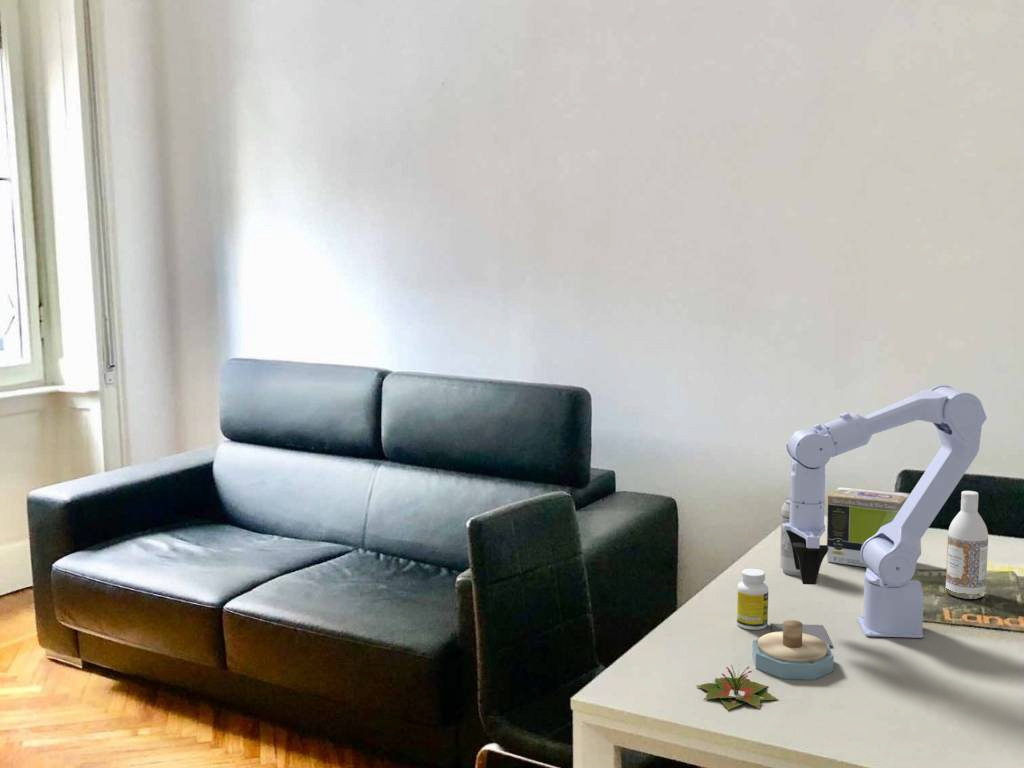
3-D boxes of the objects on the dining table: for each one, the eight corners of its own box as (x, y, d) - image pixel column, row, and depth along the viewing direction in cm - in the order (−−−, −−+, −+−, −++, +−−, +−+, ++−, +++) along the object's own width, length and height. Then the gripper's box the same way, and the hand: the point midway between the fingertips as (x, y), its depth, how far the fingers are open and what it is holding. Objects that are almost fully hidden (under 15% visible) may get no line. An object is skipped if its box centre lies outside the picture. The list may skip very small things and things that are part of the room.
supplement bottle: (768, 631, 176) (769, 577, 175) (736, 630, 177) (737, 576, 176) (767, 620, 182) (768, 567, 180) (736, 618, 183) (737, 566, 181)
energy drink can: (816, 572, 207) (818, 501, 204) (797, 578, 203) (798, 506, 201) (793, 565, 211) (795, 495, 209) (773, 570, 208) (775, 500, 206)
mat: (822, 627, 178) (822, 625, 178) (832, 647, 169) (832, 645, 169) (770, 625, 179) (770, 623, 179) (776, 645, 170) (777, 643, 170)
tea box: (910, 560, 213) (912, 492, 211) (899, 574, 205) (902, 503, 203) (837, 549, 221) (839, 484, 219) (825, 562, 213) (826, 494, 211)
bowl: (823, 649, 168) (824, 635, 168) (837, 680, 156) (837, 665, 156) (750, 647, 170) (750, 632, 169) (758, 677, 158) (758, 662, 158)
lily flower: (681, 687, 156) (681, 659, 156) (747, 674, 161) (747, 647, 160) (724, 721, 145) (725, 691, 144) (793, 706, 149) (794, 676, 149)
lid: (839, 658, 159) (840, 633, 158) (775, 665, 157) (776, 639, 156) (807, 632, 169) (808, 608, 168) (746, 638, 167) (747, 614, 166)
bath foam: (937, 591, 194) (941, 490, 192) (964, 586, 197) (968, 486, 194) (966, 603, 188) (971, 498, 185) (993, 597, 191) (998, 494, 188)
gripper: (777, 489, 181) (776, 562, 183) (789, 510, 166) (787, 589, 168) (818, 489, 180) (816, 563, 182) (833, 511, 165) (831, 591, 167)
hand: (805, 576), depth 175 cm, fingers open, 7 cm apart
